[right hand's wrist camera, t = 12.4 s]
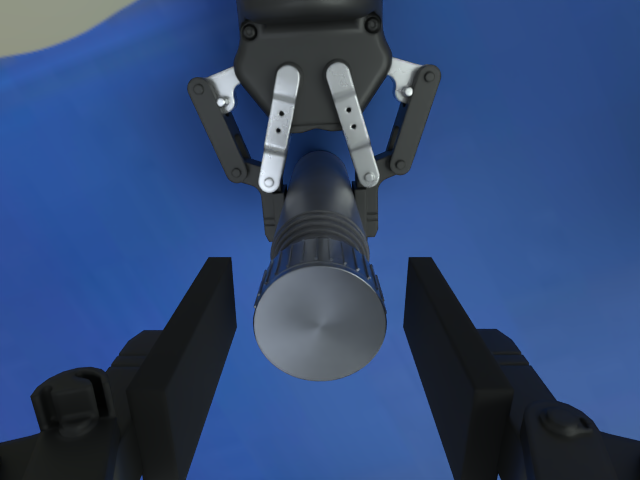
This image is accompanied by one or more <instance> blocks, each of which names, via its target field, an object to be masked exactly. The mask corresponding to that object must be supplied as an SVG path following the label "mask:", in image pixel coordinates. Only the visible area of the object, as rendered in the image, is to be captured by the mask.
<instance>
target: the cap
mask: <svg viewBox="0 0 640 480" xmlns="http://www.w3.org/2000/svg"><path fill="white" fill-rule="evenodd" d="M254 308H255V312H254V317H253V327H254V334H255V338H256V341H257V343H258V346H259V347H260V349H261V351H262V353H263V354H264V355H265V357H266V358H267V359H268V360H269V361H270V362H271V363H272V364H273V365H274V366H276V367H277V368H278V369H280V370H281V371H283V372H285V373H287V374H289V375H291V376H294V377H297V378H300V379H304V380H310V381H330V380H336V379H340V378H343V377H346V376H349V375H351V374H353V373H355V372H357V371H358V370H360V369H362V368H363V367H364V366H365V365H367V364H368V363H369V362H370V361H371V360H372V359H373V358H374V357H375V355H376V354H377V352H378V351H379V349H380V347H381V345H382V343H383V340H384V338H385V333H386V325H387V320H386V314H387V312H386V308H385V305H384V298H383V294H382V291H381V287H380V284H379V280H378V277H377V275H375V273H374V269H373V266H372V264H371V265H370V264H369V262H368V261H367V260H366V257H365V255H362V254H361V253H360V252H359V251H357V250H356V248H355V247H351V246H349V245H347V244H346V243H344V242H343V241H342V242H340V241H337V240H333V239H331V238H329V239H326V238H314V239H307V240H302V241H299V242H297V243H295V244H290V246H289V247H287V248H285V249H284V250H283V251H280V252H279V254H278V255H277V256H276V257H275V258H274V259H273V260H271V261H270V265H269V267H268V269H267V270H265V271H264V275H263V278H262V281H261V284H260V287H259V291H258V294H257V298H256V301H255V305H254Z"/></svg>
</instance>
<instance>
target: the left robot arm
mask: <svg viewBox="0 0 640 480" xmlns="http://www.w3.org/2000/svg"><path fill="white" fill-rule="evenodd" d="M236 2H237V11H238V21H239V30H240V42H239V47H238V51H237V53H236V56H235V59H234V66H233V67H231V68H228V69H226V70H224V71H221V72H219V73H216V74H214V75H212V76H209V77H196V78H193V79H191V80H190V82H189V83H188V87H187V89H188V93H189V95H190V98H191V100H192V102H193V104H194V106H195V108H196V111H197V113H198V115H199V117H200V119H201V121H202V124H203V126H204V128H205V130H206V132H207V134H208V137H209V139H210V141H211V143H212V145H213V147H214V150H215V152H216V154H217V156H218V158H219V160H220V163H221V165H222V167H223V169H224V171H225V173H226V176H227V178H228V179H229V180H230V181H231V182H234V183H241V182H242V183H245V184H249V185H252V186H254V187H256V188H257V189H258V190H259V192H260V194H261V198H262V208H263V218H264V227H265V235H266V237H267V239H268V240H269V242H273V239H274V235H275V232H276V229H277V225H278V222H279V218H280V215H281V211H282V208H283V205H284V201H285V198H286V194H287V184H286V185H283V172H284V168H285V163H286V158H287V153H288V148H289V144H290V140H291V135H292V133H303V132H306V131H309V130H312V129H315V128H318V129H323V130H328V131H343V134H344V137H345V140H346V143H347V146H348V149H349V152H350V156H351V159H352V162H353V165H354V168H355V181H352V191H353V195H354V198H355V201H356V205H357V208H358V212H359V215H360V219H361V222H362V226H363V229H364V232H365V236H366V239H367V237H375V235H376V233H377V230H378V187H379V185H380V183H381V182H382V181H383V180H385V179H387V178H389V177H391V176H394V175H404V174H406V173H407V172H408V171H409V170H410V168H411V165H412V162H413V159H414V156H415V153H416V150H417V147H418V144H419V142H420V139H421V136H422V133H423V130H424V127H425V124H426V121H427V118H428V115H429V112H430V109H431V106H432V103H433V100H434V97H435V94H436V91H437V88H438V85H439V82H440V79H441V72H440V70H439V68H438V67H436V66H435V65H428V64H427V65H418V64H414V63H411V62H408V61H404V60H401V59H397V58H394V57H392V52H391V49H390V47H389V45H388V44H387V42H386V39H385V36H384V32H383V23H382V0H236ZM386 76H389V77H390V78H391V80H392V82H393V96H394V98H395V99H396V100H397V101H399V102H401V104H400V107H399V110H398V113H397V116H396V119H395V123H394V126H393V129H392V132H391V135H390V139H389V142H388V145H387V148H386V151H385V152H383V153H381V154H378V155H376V156H374V154H373V151H372V148H371V143H370V139H369V136H368V132H367V129H366V126H365V122H364V119H363V116H362V113H363V111H364V110H365V108H366V107H367V105H368V104H369V102H370V101H371V99H372V98H373V96H374V95H375V93H376V92H377V90H378V89H379V87H380V85H381V84H382V82H383V81H384V79H385V78H386ZM240 84H241V85H242V86H243V87H244V88H245V90H246V91H247V92H248V93H249V94H250V96H251V97H252V98H253V99H254V100H255V102H256V103H257V104H258V105H259V107H260V108H261V109H262V110H263V111H264V113H265V114H266V115H267V116H268V118H269V122H268V127H267V133H266V138H265V144H264V154H263V159H262V162H260V161H257V160H253V159H251V157H250V154H249V152H248V150H247V148H246V145H245V143H244V141H243V138H242V136H241V134H240V131H239V129H238V127H237V125H236V122H235V120H234V118H233V115H232V113H231V111H233V110H234V109H235V108H236V106H237V102H238V101H237V96H236V91H237V88H238V86H239V85H240Z"/></svg>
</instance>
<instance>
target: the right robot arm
mask: <svg viewBox="0 0 640 480" xmlns="http://www.w3.org/2000/svg"><path fill="white" fill-rule="evenodd" d="M236 328H237V323H236V311H235V298H234V286H233V273H232V261H231V257H209V258H208V259H207V261H206V262H205V264H204V266H203V267H202V269H201V270H200V272H199V274H198V275H197V277H196V278H195V280H194V282H193V283H192V285H191V286H190V288H189V290H188V291H187V293H186V294H185V296H184V298H183V299H182V301H181V302H180V304H179V306H178V307H177V309H176V310H175V312H174V314H173V315H172V317H171V318H170V320H169V322H168V323H167V325H166V326H165V328H164V330H144V331H142V332H141V333H139V334H138V335H136V336H135V337H134V338H132V339H131V340H129V341H128V342H127V344H126V345H125V346H124V348H123V349H122V350H121V352H120V353H119V356H117V357H116V359H115V360H114V361H113V363H112V364H111V367H109V368H108V370H107V371H106V372H104V371H103V370H102V369H98V368H94V367H83V368H75V369H72V370H68V371H64V372H62V373H59V374H57V375H55V376H53V377H51V378H49V379H48V380H46V381H45V382H43V383H42V384H41V385H39V386H38V387H37V388H36V390H35V391H34V392H33V393H32V395H31V396H30V397H31V400H32V404H33V407H34V410H35V414H36V417H37V420H38V424H39V427H40V431H41V432H40V433H38V434H35V435H32V436H28V437H23V438H19V439H15V440H11V441H6V442H2V443H0V480H140V478H141V476H143V480H186V477H187V474H188V471H189V468H190V465H191V462H192V459H193V456H194V453H195V450H196V447H197V444H198V441H199V438H200V435H201V432H202V429H203V426H204V423H205V420H206V417H207V414H208V412H209V409H210V406H211V403H212V400H213V397H214V394H215V391H216V388H217V385H218V382H219V379H220V376H221V373H222V370H223V367H224V364H225V361H226V358H227V355H228V352H229V349H230V346H231V343H232V340H233V337H234V334H235V331H236ZM403 328H404V331H405V334H406V337H407V340H408V343H409V346H410V349H411V352H412V355H413V358H414V361H415V364H416V367H417V370H418V373H419V376H420V379H421V382H422V385H423V388H424V391H425V394H426V397H427V400H428V403H429V406H430V409H431V411H432V414H433V417H434V420H435V423H436V426H437V429H438V432H439V435H440V438H441V441H442V444H443V447H444V450H445V453H446V456H447V459H448V462H449V465H450V468H451V471H452V474H453V477H454V480H497V476H498V474H499V476H500V478H501V480H640V441H637V440H633V439H629V438H624V437H620V436H616V435H611V434H608V433H604V432H601V431H599V429H598V428H597V426H596V425H595V423H594V422H593V420H591V419H590V418H589V417H588V416H587V415H585V414H584V413H583V412H582V411H580V410H578V409H576V408H574V407H572V406H570V405H569V404H565V403H562V402H559V401H557V400H556V399H555V398H554V396H553V395H552V394H551V392H550V391H549V389H548V388H547V387H546V385H545V384H544V383H543V381H542V380H541V379H540V377H539V376H538V375H537V373H536V372H535V370H534V369H533V368H532V366H529V362H528V361H527V360H526V358H525V357H524V356H523V355H521V351H520V350H519V349H518V347H517V346H516V345H515V343H514V342H513V341H512V340H511V339H510V338H509V337H507V336H506V335H504V334H503V333H501V332H500V331H499V330H497V329H476V328H475V326H474V325H473V323H472V322H471V320H470V318H469V317H468V315H467V314H466V312H465V310H464V309H463V307H462V306H461V304H460V302H459V301H458V299H457V298H456V296H455V294H454V293H453V291H452V290H451V288H450V286H449V285H448V283H447V282H446V280H445V278H444V277H443V275H442V274H441V272H440V270H439V269H438V267H437V266H436V264H435V262H434V261H433V259H432V258H431V257H409V261H408V273H407V286H406V298H405V311H404V323H403Z"/></svg>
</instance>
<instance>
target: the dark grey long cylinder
mask: <svg viewBox="0 0 640 480" xmlns="http://www.w3.org/2000/svg"><path fill="white" fill-rule="evenodd" d="M314 238H326V239H329V238H331V239H333V240H337V241H340V242H342V241H343V242H344V243H346V244H347V245H349V246H351V247H355V248H356V250H357V251H359V252H360V253H361V254H362V255H365V257H366V260H367V261H368V262H369V247H368V243H367V239H366V236H365V232H364V229H363V226H362V222H361V219H360V215H359V212H358V208H357V205H356V201H355V198H354V195H353V191H352V188H351V184H350V181H349V177H348V174H347V171H346V168H345V166H344V164H343V162H342V161H341V160H340V159H339V158H338V157H337V156H336V155H334V154H332V153H330V152H326V151H314V152H310V153H308V154H306V155H304V156H303V157H302V158H301V159H300V160H299V161H298V162H297V164H296V166H295V168H294V170H293V174H292V177H291V181H290V184H289V188H288V191H287V194H286V198H285V201H284V205H283V208H282V211H281V215H280V218H279V222H278V225H277V229H276V232H275V235H274V239H273V242H272V246H271V254H270V255H271V260H273V259H274V258H275V257H276V256H277V255H278V254H279V252H280V251H283V250H284V249H285V248H287V247H289V246H290V244H295V243H297V242H299V241H302V240H307V239H314Z"/></svg>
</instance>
